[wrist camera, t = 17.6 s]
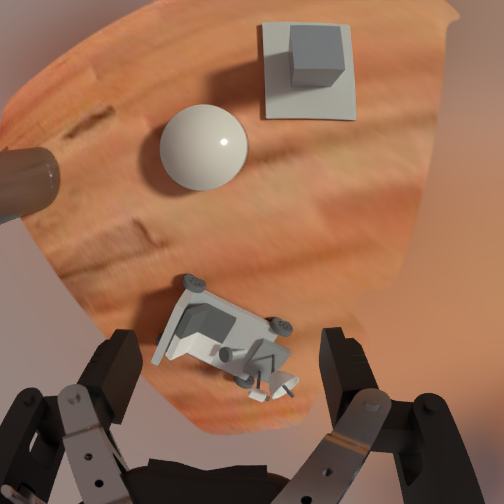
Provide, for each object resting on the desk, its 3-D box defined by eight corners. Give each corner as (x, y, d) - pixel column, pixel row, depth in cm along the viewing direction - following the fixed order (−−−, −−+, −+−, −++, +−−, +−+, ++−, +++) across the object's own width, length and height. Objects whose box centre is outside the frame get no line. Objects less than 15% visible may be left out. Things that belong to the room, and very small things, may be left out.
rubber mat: (266, 118, 32) (266, 118, 32) (262, 24, 28) (262, 22, 28) (355, 120, 31) (356, 120, 31) (348, 26, 27) (349, 25, 27)
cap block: (291, 86, 30) (294, 68, 23) (288, 51, 29) (290, 25, 21) (330, 86, 30) (345, 69, 22) (327, 51, 28) (340, 26, 21)
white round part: (174, 187, 36) (162, 192, 32) (170, 113, 33) (158, 109, 29) (250, 184, 35) (246, 189, 31) (247, 106, 32) (243, 101, 28)
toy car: (315, 378, 31) (264, 433, 35) (309, 330, 41) (268, 384, 44) (161, 306, 30) (134, 375, 34) (187, 270, 39) (159, 334, 43)
